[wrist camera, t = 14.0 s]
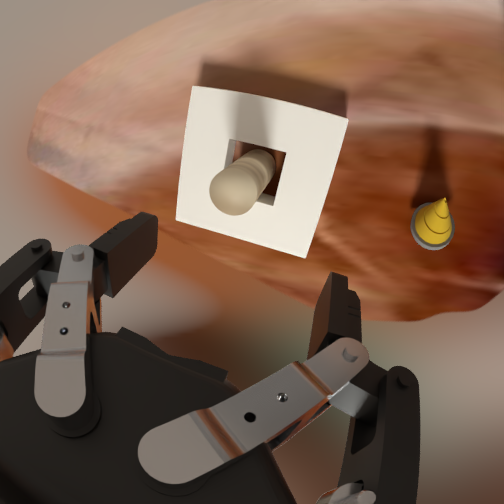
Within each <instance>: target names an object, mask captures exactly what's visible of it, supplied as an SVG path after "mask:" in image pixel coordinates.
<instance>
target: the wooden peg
mask: <svg viewBox="0 0 504 504" xmlns="http://www.w3.org/2000/svg"><path fill="white" fill-rule="evenodd" d="M275 171H276V163H275V160H274V158H273V156H272V155H271V154H270V153H268V152H267V151H265V150H262V149H254V150H251V151H249V152H248V153H246V154H245V155H243V156H242V157H240V158H239V159H237V160H236V161H235V162H233V163H232V164H230V165H229V166H228V167H226V168H225V169H223V170H222V171H221V172H219V173H218V174H217V175H215V176H214V178H213V179H212V181H211V183H210V187H209V194H210V198H211V200H212V202H213V204H214V205H215V207H216V208H217V209H218V210H220V211H221V212H223V213H225V214H227V215H232V216H237V215H242V214H244V213H246V212H248V211H249V210H250V209H251V208H252V206H253V205H254V204H255V202H256V201H257V199H258V198H259V196H260V195H261V193H262V192H263V190H264V189H265V187H266V186H267V184H268V183H269V182H270V180H271V179H272V177H273V176H274V174H275Z"/></svg>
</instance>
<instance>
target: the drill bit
mask: <svg viewBox="0 0 504 504" xmlns="http://www.w3.org/2000/svg"><path fill="white" fill-rule="evenodd" d="M454 230H455V224H454V220H453V218H452V216H451V214H450V212H449V209H448V205H447V202H446V198H443V199H441V200H438V201H436V202H434V203H425V204H422V205H420V206H419V207H418V208H417V209H416V210H415V211H414V214H413V216H412V220H411V232H412V235H413V237H414V239H415V240H416V241H417V243H418V245H419V244H420V245H421V246H422V247H424V248H426V249H429V250H439V249H442V248H443V247H445V246H446V245H447V244H448V243H449V242H450V240H451V239H452V237H453V235H454Z"/></svg>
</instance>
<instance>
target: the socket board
mask: <svg viewBox="0 0 504 504" xmlns="http://www.w3.org/2000/svg"><path fill="white" fill-rule="evenodd" d="M348 121H349V119H347V118H345V117H342V116H339V115H335V114H332V113H329V112H325V111H322V110H318V109H315V108H311V107H307V106H303V105H300V104H296V103H292V102H287V101H283V100H279V99H274V98H270V97H265V96H260V95H255V94H249V93H244V92H238V91H232V90H226V89H219V88H212V87H204V86H192V92H191V98H190V104H189V110H188V117H187V124H186V130H185V138H184V145H183V153H182V161H181V170H180V179H179V189H178V199H177V210H176V220H177V221H181V222H184V223H187V224H191V225H194V226H198V227H201V228H205V229H208V230H211V231H215V232H218V233H222V234H225V235H228V236H232V237H235V238H238V239H242V240H245V241H249V242H252V243H255V244H259V245H262V246H265V247H269V248H272V249H275V250H279V251H282V252H285V253H289V254H292V255H295V256H299V257H302V258H306V255H307V253H308V250H309V247H310V244H311V241H312V238H313V235H314V232H315V229H316V226H317V223H318V220H319V217H320V214H321V211H322V208H323V205H324V201H325V198H326V195H327V192H328V189H329V186H330V182H331V179H332V176H333V173H334V169H335V166H336V163H337V159H338V156H339V152H340V149H341V145H342V142H343V138H344V135H345V131H346V128H347V124H348ZM236 140H238V141H242V142H246V143H251V144H255V145H259V146H263V147H267V148H271V149H275V150H279V151H283V152H287V153H286V157H285V161H284V165H283V169H282V173H281V177H280V181H279V185H278V189H277V193H276V197H275V196H271V195H268V194H264V193H261V195H260V196H259V198H258V199H257V201H256V202H255V204H254V205H253V206H252V208H251V209H250V210H249V211H248V212H246V213H244V214H242V215H237V216H232V215H227V214H225V213H223V212H221V211H220V210H218V209H217V208H216V207H215V205H214V204H213V202H212V200H211V198H210V194H209V187H210V183H211V181H212V179H213V178H214V176H215V175H217V174H218V173H219V172H221V171H222V170H223V169H225V168H226V167H228V166H229V165H230V164H232V162H233V156H234V151H235V146H236Z"/></svg>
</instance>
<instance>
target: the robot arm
mask: <svg viewBox="0 0 504 504" xmlns="http://www.w3.org/2000/svg"><path fill="white" fill-rule="evenodd" d="M157 234H158V218H157V216H155V215H152V214H149V213H145V212H140V213H139V214H137V215H136V216H135V217H133V218H132V219H127V220H125V221H122V222H119V223H118V224H117V225H115V226H114V227H113V229H112V228H111V229H110V230H109V231H107V233H105V234H103V235H102V236H101V237H99V238H98V239H97V240H95V241H94V242H93V243H91V244H90V245H89V246H87V245H74V246H71V247H69V248H68V249H66V250H65V252H57V251H52V248H51V243H50V242H49V241H48V240H46V239H36V240H33V241H31V242H29V243H28V244H27V245H25V246H24V247H23V248H22V249H20V250H19V251H18V252H17V253H15V254H14V255H13V256H12V257H11V258H9V259H8V260H7V261H6V262H5V263H3V264H2V265H1V266H0V504H297V503H296V501H295V499H294V497H293V495H292V493H291V491H290V489H289V487H288V485H287V483H286V481H285V479H284V477H283V475H282V472H281V470H280V468H279V466H278V464H277V462H276V460H275V458H274V456H273V453H272V452H273V451H274V450H275V449H277V448H278V447H280V446H281V445H283V444H284V443H285V442H287V441H288V440H289V439H291V438H292V437H293V436H294V435H295V434H297V433H298V432H299V431H300V430H301V429H303V428H304V427H305V426H307V425H308V424H309V423H311V422H312V421H313V420H314V419H316V418H317V417H318V416H319V415H321V414H322V413H323V412H324V411H326V410H327V409H328V408H329V407H330V406H332V405H333V406H335V407H336V408H338V409H340V410H342V411H343V412H345V413H347V414H349V415H351V418H350V425H349V430H348V436H347V442H346V448H345V454H344V458H343V464H342V468H341V473H340V477H339V482H338V486H337V488H336V489H333V490H331V491H328V492H326V493H325V494H323V495H322V496H321V497H320V498H319V500H318V501H317V503H316V504H416V497H417V489H418V477H419V461H420V399H419V384H418V380H417V378H416V377H415V375H414V374H413V373H412V372H411V371H410V370H409V369H407V368H405V367H402V366H395V367H392V368H391V369H390V370H389V371H386V370H384V369H383V368H381V367H379V366H377V365H376V364H374V363H373V362H371V361H370V360H369V353H368V351H367V349H366V348H365V346H364V345H362V333H361V311H360V310H361V307H360V299H359V298H358V296H357V294H356V292H355V291H352V290H349V289H348V277H347V276H343V275H340V274H337V273H334V272H330V274H329V276H328V278H327V281H326V283H325V285H324V287H323V290H322V292H321V294H320V296H319V299H318V301H317V304H316V307H315V311H314V318H313V324H312V331H311V337H310V343H309V350H308V355H307V361H305V362H304V363H302V364H300V363H299V362H298V361H295V362H293V363H291V364H289V365H288V366H286V367H284V368H283V369H281V370H279V371H277V372H276V373H274V374H272V375H271V376H269V377H267V378H266V379H264V380H262V381H260V382H258V383H257V384H255V385H253V386H251V387H249V388H247V389H246V390H244V391H242V392H241V391H240V390H239V389H238V388H237V387H236V386H235V385H234V384H232V383H231V382H230V381H228V380H226V378H227V374H228V371H226V370H224V369H221V368H218V367H216V366H213V365H210V364H207V363H205V362H202V361H200V360H193V359H188V358H182V357H176V356H171V355H168V354H166V353H165V352H164V351H162V350H161V349H160V348H158V347H157V346H156V345H154V344H153V343H152V342H151V341H149V340H148V339H147V338H145V337H143V336H140V335H139V334H137V333H134V332H132V331H130V330H128V329H126V328H124V327H122V328H121V329H120V330H119V332H118V333H111V332H102V303H101V296H102V295H103V294H105V295H107V296H109V297H112V298H114V297H115V295H116V294H117V293H118V292H119V291H120V290H121V289H122V288H123V287H124V286H125V285H126V284H127V283H128V282H129V280H131V279H132V278H133V276H134V275H135V274H136V273H137V272H138V271H139V270H140V269H141V268H142V267H143V266H144V265H145V264H146V263H147V262H148V261H149V260H150V259H151V258H152V257H153V256H154V254H155V252H156V249H157ZM31 278H32V281H33V285H34V287H33V288H32V289H31V290H30V291H29V292H28V293H27V294H26V295H25V296H24V297H23V298H22V299H21V300H19V297H18V294H19V291H20V289H21V287H22V286H23V285H24V284H25V283H26V282H28V281H29V280H30V279H31ZM44 317H45V321H44V328H43V336H42V346H41V349H39V350H36V351H32V352H29V353H26V354H22V355H19V356H16V357H13V354H14V352H15V351H16V349H18V347H19V346H20V345H21V344H22V342H23V341H24V340H25V339H26V338H27V336H28V335H29V334H30V333H31V332H32V330H33V329H34V328H35V327H36V326H37V325H38V324H39V322H40V321H41V320H42V319H43V318H44Z"/></svg>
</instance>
